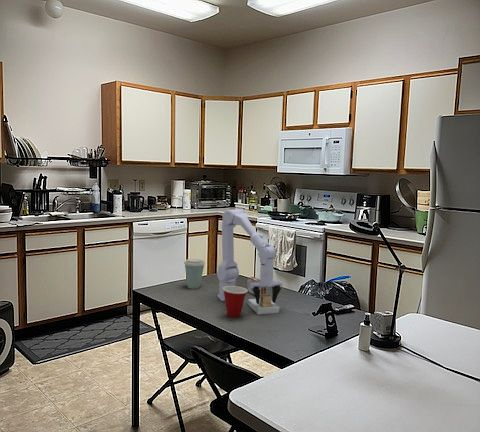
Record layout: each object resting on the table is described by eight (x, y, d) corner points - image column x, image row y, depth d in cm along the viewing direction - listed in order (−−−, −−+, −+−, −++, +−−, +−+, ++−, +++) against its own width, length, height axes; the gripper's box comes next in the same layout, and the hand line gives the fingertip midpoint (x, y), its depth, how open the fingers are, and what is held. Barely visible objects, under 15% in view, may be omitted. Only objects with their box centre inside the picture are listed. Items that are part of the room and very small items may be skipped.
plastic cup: (249, 319, 185) (249, 291, 183) (223, 320, 183) (224, 292, 181) (244, 311, 195) (245, 284, 194) (220, 311, 193) (221, 285, 192)
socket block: (248, 304, 204) (248, 299, 204) (268, 303, 207) (268, 298, 207) (257, 314, 191) (258, 308, 191) (279, 312, 194) (279, 307, 194)
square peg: (259, 309, 198) (260, 294, 197) (267, 308, 199) (268, 293, 198) (262, 312, 194) (263, 296, 193) (271, 311, 195) (271, 296, 194)
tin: (266, 298, 215) (266, 281, 214) (260, 299, 213) (261, 282, 212) (250, 290, 228) (250, 275, 227) (245, 291, 226) (245, 275, 225)
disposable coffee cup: (184, 284, 236) (184, 257, 234) (204, 284, 237) (204, 257, 236) (183, 290, 225) (184, 261, 224) (204, 290, 227) (205, 261, 225)
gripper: (254, 276, 189) (253, 306, 190) (285, 274, 193) (284, 304, 194) (249, 272, 195) (248, 301, 197) (279, 270, 199) (278, 299, 201)
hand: (265, 302), depth 196 cm, fingers open, 7 cm apart
